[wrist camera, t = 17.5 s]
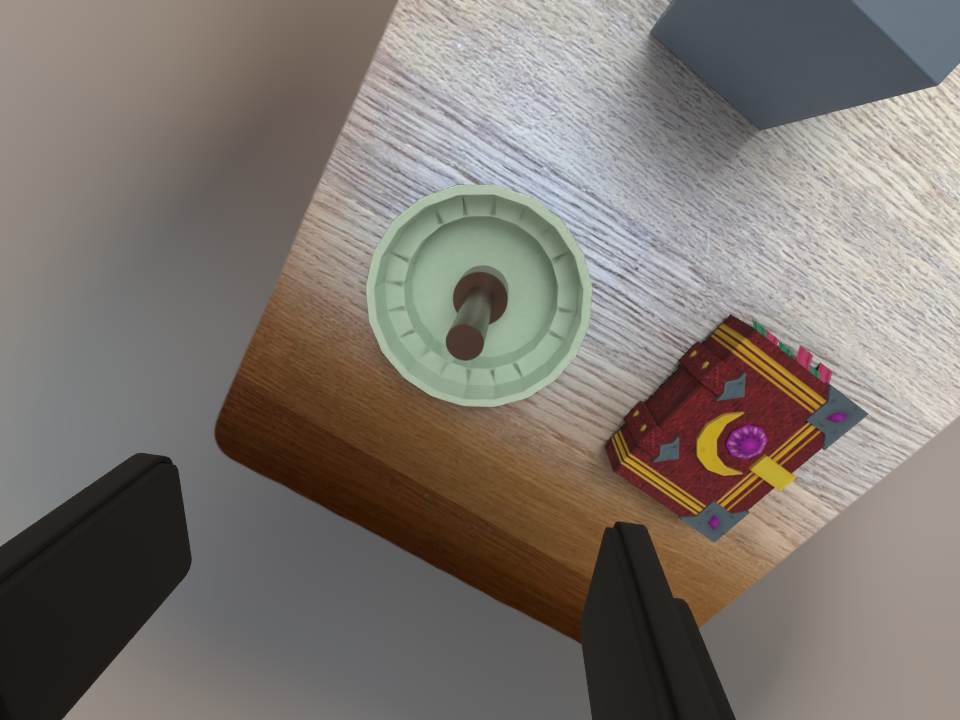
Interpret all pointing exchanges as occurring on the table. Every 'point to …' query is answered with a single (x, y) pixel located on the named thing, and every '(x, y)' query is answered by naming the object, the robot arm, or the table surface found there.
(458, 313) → the brown wooden handle
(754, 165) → the table surface
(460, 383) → the bowl
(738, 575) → the table surface
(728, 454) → the decorative book
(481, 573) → the table surface
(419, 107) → the table surface
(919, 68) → the stand
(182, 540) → the robot arm
